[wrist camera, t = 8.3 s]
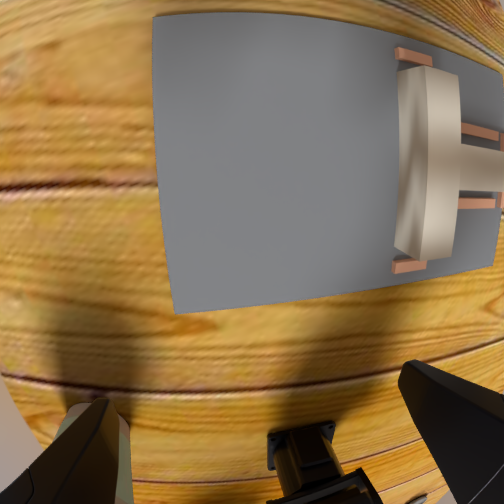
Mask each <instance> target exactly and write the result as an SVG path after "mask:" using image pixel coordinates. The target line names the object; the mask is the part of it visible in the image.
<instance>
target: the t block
mask: <svg viewBox="0 0 504 504" xmlns="http://www.w3.org/2000/svg"><path fill="white" fill-rule="evenodd" d="M397 85H398V103H399V186H398V205H397V219H396V231H395V242H394V247H396V248H397V249H399V250H401V251H402V252H404V253H406V254H407V255H409V256H411V257H412V258H414V259H416V260H417V261H419V262H420V261H427V260H433V259H440V258H446V257H451V254H452V248H453V241H454V234H455V226H456V218H457V209H458V198H459V190H470V191H493V192H504V152H502V151H497V150H492V149H487V148H482V147H477V146H471V145H466V144H461V112H460V94H459V81H458V76H457V75H454V74H451V73H448V72H445V71H442V70H439V69H436V68H432V67H429V66H425V65H423V66H419V67H415V68H411V69H406V70H402V71H398V72H397Z"/></svg>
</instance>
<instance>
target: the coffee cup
mask: <svg viewBox="0 0 504 504" xmlns="http://www.w3.org/2000/svg"><path fill="white" fill-rule="evenodd" d="M90 404H91V403H79V404H76V405H73V406H72V407H71V408H70V409H69V411H68V412H67V414H66V416H65V418H64V420H63V422H62V424H61V426H60V428H59V430H58V432H57V434H56V436H55V438H54V440H55V439H56V438H57V437H58V436H59V435H60V434H61V433H62V432H63V431H64V430H65V429H66V428H67V427H68V426H69V425H70V424H71V423H72V422H73V421H74V420H75V419H76V418H77V417H78V416H79V415H80V414H81V413H82V412H83V411H84V410H85V409H86V408H87V407H88V406H89V405H90ZM118 417H119V421H120V429H119V470H118V479H117V487H116V497H115V504H134V500H133V487H132V472H131V452H130V429H129V426H128V424H127V422H126V421H125V420H124V419H123V418H122V417H121V416H120V415H119V414H118ZM54 440H53V441H54ZM52 443H53V442H52Z"/></svg>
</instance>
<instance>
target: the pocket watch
mask: <svg viewBox="0 0 504 504" xmlns="http://www.w3.org/2000/svg"><path fill="white" fill-rule="evenodd" d="M426 500H427V497H426V496H423V497H420V498H418V499H416V500H414V501H412V502H411V503H409V504H423V503H424V502H425V501H426Z"/></svg>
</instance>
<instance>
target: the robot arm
mask: <svg viewBox="0 0 504 504" xmlns="http://www.w3.org/2000/svg"><path fill="white" fill-rule="evenodd" d="M398 387H399V390H400V392H401V394H402V396H403V399H404V401H405V403H406V406H407V408H408V410H409V413H410V415H411V417H412V419H413V422H414V423H415V425H416V427H417V429H418V431H419V433H420V434H421V436H422V438H423V440H424V442H425V443H426V445H427V447H428V449H429V451H430V453H431V454H432V456H433V458H434V460H435V462H436V464H437V466H438V467H439V469H440V471H441V473H442V475H443V477H444V479H445V481H446V483H447V485H448V487H449V488H450V490H451V492H452V494H453V496H454V498H455V500H456V502H457V504H504V395H503V394H499V393H498V392H495V391H493V390H490V389H488V388H485V387H482V386H480V385H477V384H475V383H472V382H470V381H467V380H465V379H462V378H460V377H457V376H455V375H452V374H450V373H447V372H445V371H443V370H440V369H438V368H435V367H433V366H430V365H428V364H426V363H423V362H421V361H418V360H410V361H407V362H405V363H404V364H403V366H402V370H401V373H400V376H399V379H398ZM335 427H336V424H335V422H334V421H328V422H324V423H320V424H316V425H311V426H307V427H302V428H297V429H293V430H288V431H282V432H277V433H272V434H269V435H268V436H267V467H268V470H270V471H273V470H276V471H277V475H278V478H279V481H280V485H281V488H282V491H283V495H284V497H282V498H279V499H275V500H268V501H266V504H383V502H382V500H381V498H380V496H379V495H378V493H377V491H376V490H375V488H374V487H373V485H372V484H371V482H370V480H369V479H368V477H367V476H366V474H365V472H364V471H363V469H362V468H361V467H360V468H358V469H356V471H353V472H351V473H349V474H346V475H345V474H344V472H343V469H342V467H341V465H340V463H339V461H338V459H337V457H336V454H335V452H334V450H333V448H332V446H331V444H332V439H333V435H334V431H335ZM119 429H120V421H119V417H118V414H117V411H116V409H115V406H114V404H113V401H112V400H111V399H110V398H101V397H99V398H97V399H95V400H94V401H93V402H92V403H91V404H90V405H89V406H88V407H87V408H86V409H85V410H84V411H83V412H82V413H81V414H80V415H79V416H78V417H77V418H76V419H75V420H74V421H73V422H72V423H71V424H70V425H69V426H68V427H67V428H66V429H65V430H64V431H63V432H62V433H61V434H60V435H59V436H58V437H57V438H56V439H55V440H54V441H53V443H52V444H51V445H50V446H49V447H48V448H47V449H46V450H45V451H44V452H43V453H42V454H41V455H40V456H39V457H38V458H37V459H36V460H35V461H34V462H33V463H32V464H31V465H30V466H29V469H28V468H27V469H26V470H25V471H24V472H23V473H22V474H21V475H20V476H19V477H18V478H17V479H16V480H14V481H13V482H12V484H10V485H9V486H8V487H7V488H6V489H4V490H3V491H2V492H1V493H0V504H115V497H116V487H117V479H118V470H119Z"/></svg>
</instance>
